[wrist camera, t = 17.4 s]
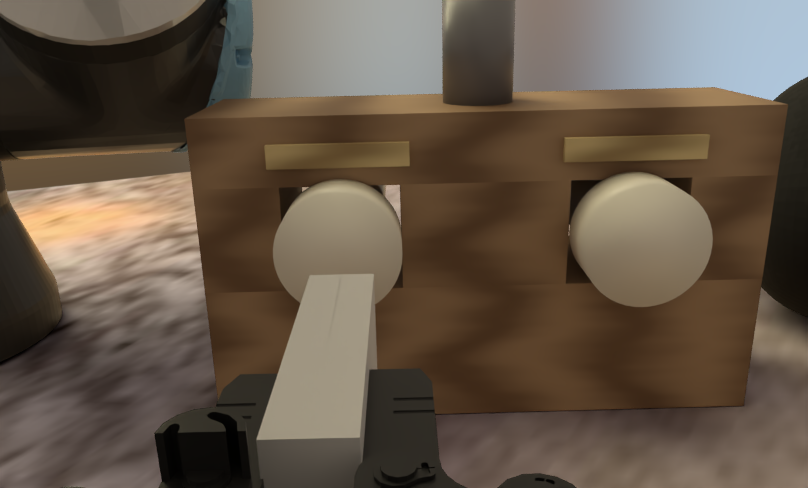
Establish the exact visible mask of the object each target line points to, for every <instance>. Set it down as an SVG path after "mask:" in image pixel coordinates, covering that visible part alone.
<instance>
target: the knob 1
mask: <svg viewBox="0 0 808 488" xmlns="http://www.w3.org/2000/svg"><path fill="white" fill-rule="evenodd" d="M385 192H386V185H366V184H364V183H361V182H358V181H355V180H349V179H332V180H327V181H323V182H320V183H317V184H315V185H313V186H311V187H309V188H308V189H306V190H305V191H303V192H302V193H301V194H300V195H299V196H298V197H297V198H296V199H295V200H294V201H293V203H292V204H291V206H290V207H289V209H288V211H287V212H286V214H285V216H284V218H283V220H282V222H281V224H280V225H279V228H278V230H277V232H276V235H275V239H274V245H273V260H274V266H275V269H276V273H277V275H278V277H279V279H280V281H281V283H282V284H283V286H284V288H285V289H286V290H287V291H288V292H289V294H290V295H291V296H293V297H294V298H295V299H296V300H297V301H299V302H300V303H301V301H302V298H303V295H304V291H305V288H306V285H307V282H308V279H309V276H310V275H338V274H374V291H375V304H377V303H378V302H379V301H381V300H382V299H383V298H384V297H385V296H386V295H387V294H388V293H389V292H390V290H391V289H392V287H393V286H394V284H395V283H396V281H397V279H398V276H399V273H400V270H401V265H402V233H401V226H400V222H399V219H398V216H397V214H396V212H395V210H394V208H393V207H392V205H391V204H390V202H389V201H388V200H387V199H386V198H385Z"/></svg>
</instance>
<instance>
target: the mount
mask: <svg viewBox="0 0 808 488" xmlns="http://www.w3.org/2000/svg"><path fill="white" fill-rule="evenodd" d="M787 109H788V104H785V103H780V102H776V101H771V100H767V99H763V98H759V97H754V96H750V95H746V94H741V93H736V92H733V91H728V90H724V89H719V88H715V87H711V88H666V89H628V90H627V89H625V90H583V91H542V92H513V101H512V102H511V103H508V104H502V105H490V106H460V105H450V104H445V103H443V94H417V95H376V96H336V97H335V96H333V97H296V98H295V97H294V98H293V97H291V98H250V99H223V100H221V101H219V102H217V103H215V104H213V105H211V106H209V107H207V108H205V109H203V110H201V111H199V112H197V113H195V114H193V115H191V116H189V117H187V118H185V119H184V121H185V129H186V137H187V146H188V154H189V161H190V170H191V179H192V187H193V195H194V204H195V212H196V220H197V229H198V237H199V245H200V254H201V262H202V270H203V279H204V287H205V295H206V304H207V312H208V320H209V329H210V337H211V345H212V354H213V362H214V370H215V379H216V387H217V395H218V399H219V397H220V395H221V392H222V390H223V388H224V387H225V386H227V385H228V384H229V383H230V382H232V381H233V380H234V379H235V378H236V377H238V376H239V375H240V374H276V373H278V372H279V368H280V365H281V362H282V359H283V356H284V353H285V350H286V347H287V344H288V341H289V338H290V335H291V331H292V328H293V325H294V322H295V319H296V316H297V313H298V310H299V307H300V304H301V303H300V302H299V301H297V300H296V299H295V298H294V297H293V296H291V295H290V294H289V292H288V291H287V290H286V289H285V288H284V286H283V284H282V283H281V281H280V279H279V277H278V275H277V273H276V269H275V266H274V260H273V245H274V239H275V235H276V232H277V230H278V228H279V225H280V224H281V222H282V220H283V218H284V216H285V214H286V212H287V211H288V209H289V207H290V206H291V204H292V203H293V201H294V200H295V199H296V198H297V197H298V196H299V195H300V194H301V193H302V187H311V186H313V185H315V184H317V183H320V182H323V181H327V180H332V179H349V180H355V181H358V182H361V183H364V184H366V185H400V202H401V233H402V265H401V270H400V273H399V276H398V279H397V281H396V283H395V284H394V286H393V287H392V289H391V290H390V292H389V293H388V294H387V295H386V296H385V297H384V298H383V299H382V300H381V301H379V302H378V303H377V304H375V318H376V346H377V369H413V368H420V369H421V370H422V371H423V372H424V373H425V374H426V375H427V377H428V378H429V379H430V380H431V381H432V387H433V398H434V408H435V414H450V413H487V412H525V411H562V410H599V409H636V408H674V407H711V406H743V405H744V398H745V392H746V385H747V378H748V371H749V365H750V358H751V351H752V345H753V338H754V331H755V324H756V318H757V311H758V304H759V297H760V291H761V284H762V277H763V271H764V264H765V257H766V250H767V244H768V237H769V230H770V223H771V217H772V210H773V203H774V197H775V190H776V183H777V176H778V170H779V163H780V156H781V149H782V143H783V136H784V129H785V122H786V116H787ZM625 172H645V173H650V174H653V175H657V176H659V177H661V178H663V179H665V180H666V181H668V182H670V183H671V184H673V185H674V186H676V187H678V188H679V189H681V190H683V191H684V192H686V193H687V194H689V195H690V196H692V197H693V198H694V199H695V200H696V201H697V202H699V204H700V205H701V206H702V207H703V209H704V210H705V212H706V214H707V216H708V218H709V221H710V224H711V228H712V235H713V242H712V250H711V255H710V258H709V261H708V263H707V265H706V268H705V270H704V271H703V273H702V274H701V276H700V277H699V278H698V280H697V281H696V282H695V283H694V284H693V285H692V286H691V287H690V288H689V289H688V290H687V291H685V292H684V293H683V294H681V295H680V296H678V297H676V298H675V299H673V300H670V301H668V302H666V303H663V304H660V305H655V306H650V307H632V306H626V305H623V304H619V303H617V302H615V301H613V300H611V299H609V298H608V297H606V296H605V295H603V294H602V293H601V292H600V291H599V290H598V289H597V288H596V287H595V286H594V284H593V283H592V282H591V280H590V279H589V278H588V276H587V275H586V273H585V272H584V271H583V269H582V268H581V267H580V265H579V264H578V262H577V261H576V259H575V257H574V255H573V252H572V249H571V246H570V239H569V236H568V232H569V214H570V195H571V180H604V179H606V178H609V177H611V176H614V175H616V174H620V173H625Z"/></svg>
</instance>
